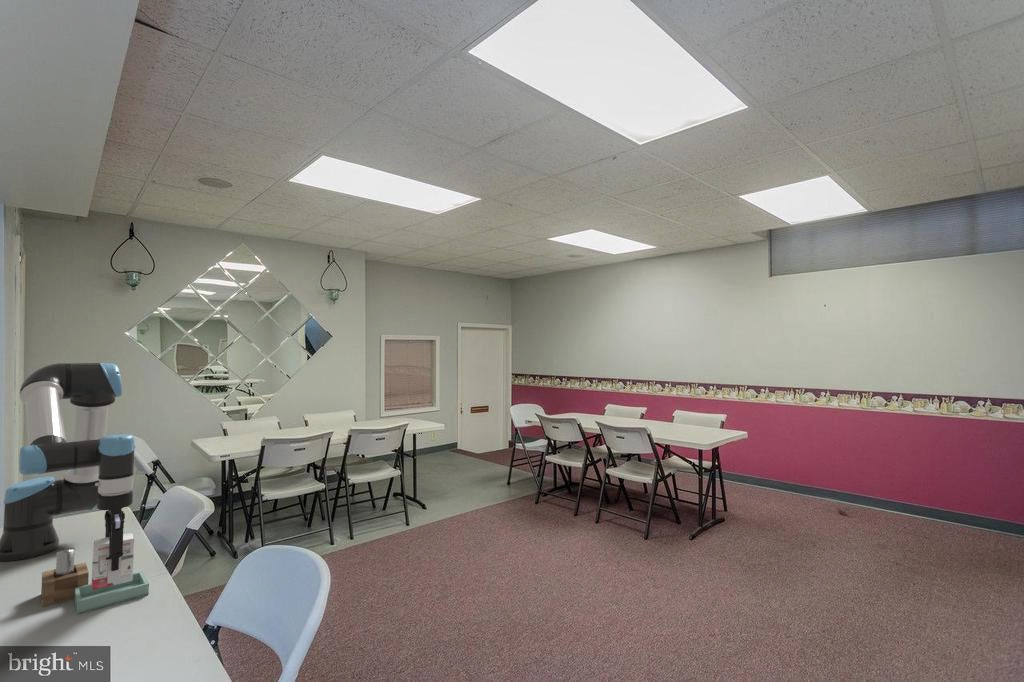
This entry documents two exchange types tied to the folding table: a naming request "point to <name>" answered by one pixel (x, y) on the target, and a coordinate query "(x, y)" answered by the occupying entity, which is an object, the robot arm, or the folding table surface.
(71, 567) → the cylinder
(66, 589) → the wooden square holder
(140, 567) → the folding table surface
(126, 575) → the ink box
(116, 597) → the tray
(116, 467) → the robot arm
